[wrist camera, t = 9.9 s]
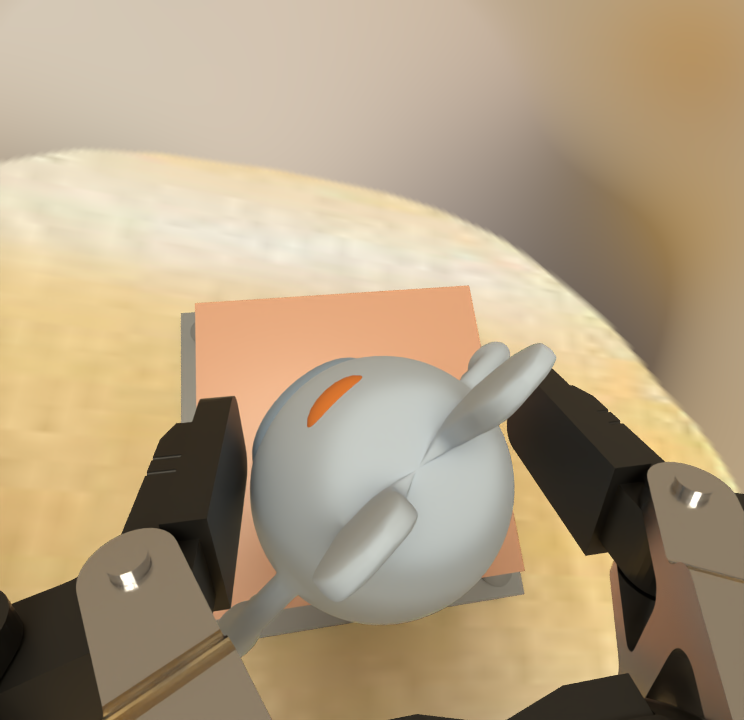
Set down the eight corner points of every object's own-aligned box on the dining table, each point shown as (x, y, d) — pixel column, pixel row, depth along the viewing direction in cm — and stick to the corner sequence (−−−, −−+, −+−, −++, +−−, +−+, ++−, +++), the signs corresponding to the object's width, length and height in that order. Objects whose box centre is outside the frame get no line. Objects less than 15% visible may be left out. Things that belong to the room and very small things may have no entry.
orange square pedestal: (187, 644, 25) (117, 724, 17) (185, 318, 31) (131, 251, 22) (517, 590, 28) (603, 635, 19) (462, 299, 33) (510, 233, 25)
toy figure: (398, 329, 18) (537, 18, 6) (516, 441, 17) (933, 321, 5) (179, 536, 15) (-337, 674, 3) (310, 685, 14) (247, 1615, 2)
